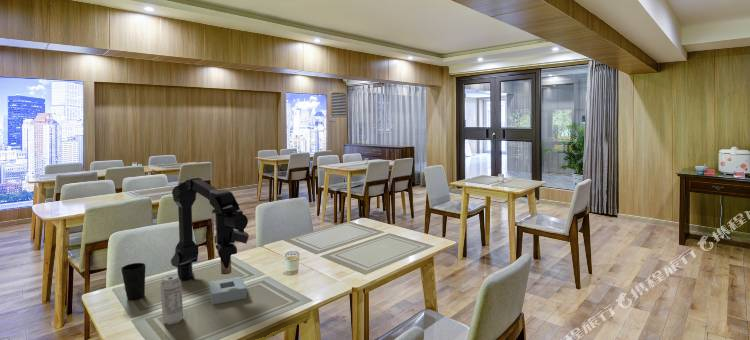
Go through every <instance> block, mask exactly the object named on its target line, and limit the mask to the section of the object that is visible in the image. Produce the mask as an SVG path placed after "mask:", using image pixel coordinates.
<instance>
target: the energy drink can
mask: <svg viewBox="0 0 750 340" xmlns="http://www.w3.org/2000/svg"><path fill="white" fill-rule="evenodd" d="M161 279H162V280H161V282H160V285H159V286H160V297H161V298H160V299H161V310H162V321H163V323H164V324H165V325H168V326H169V325H176V324H178V323H180V322H181V321H182V319H183V318H184V306H183V305H184V304H183V291H182V290H183V289H182V281H181V280H180V279H179V276H178V274H169V275H165V276H163V277H162V278H161Z"/></svg>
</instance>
